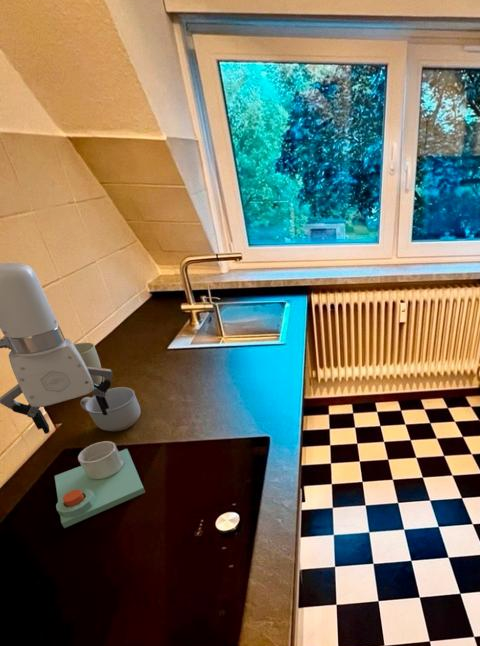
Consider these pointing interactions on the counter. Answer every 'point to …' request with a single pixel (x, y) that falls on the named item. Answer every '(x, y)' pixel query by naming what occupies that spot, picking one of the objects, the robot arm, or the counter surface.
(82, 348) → the mug
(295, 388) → the counter surface
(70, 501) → the tare button
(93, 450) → the bowl
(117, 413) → the teacup
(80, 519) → the scale
